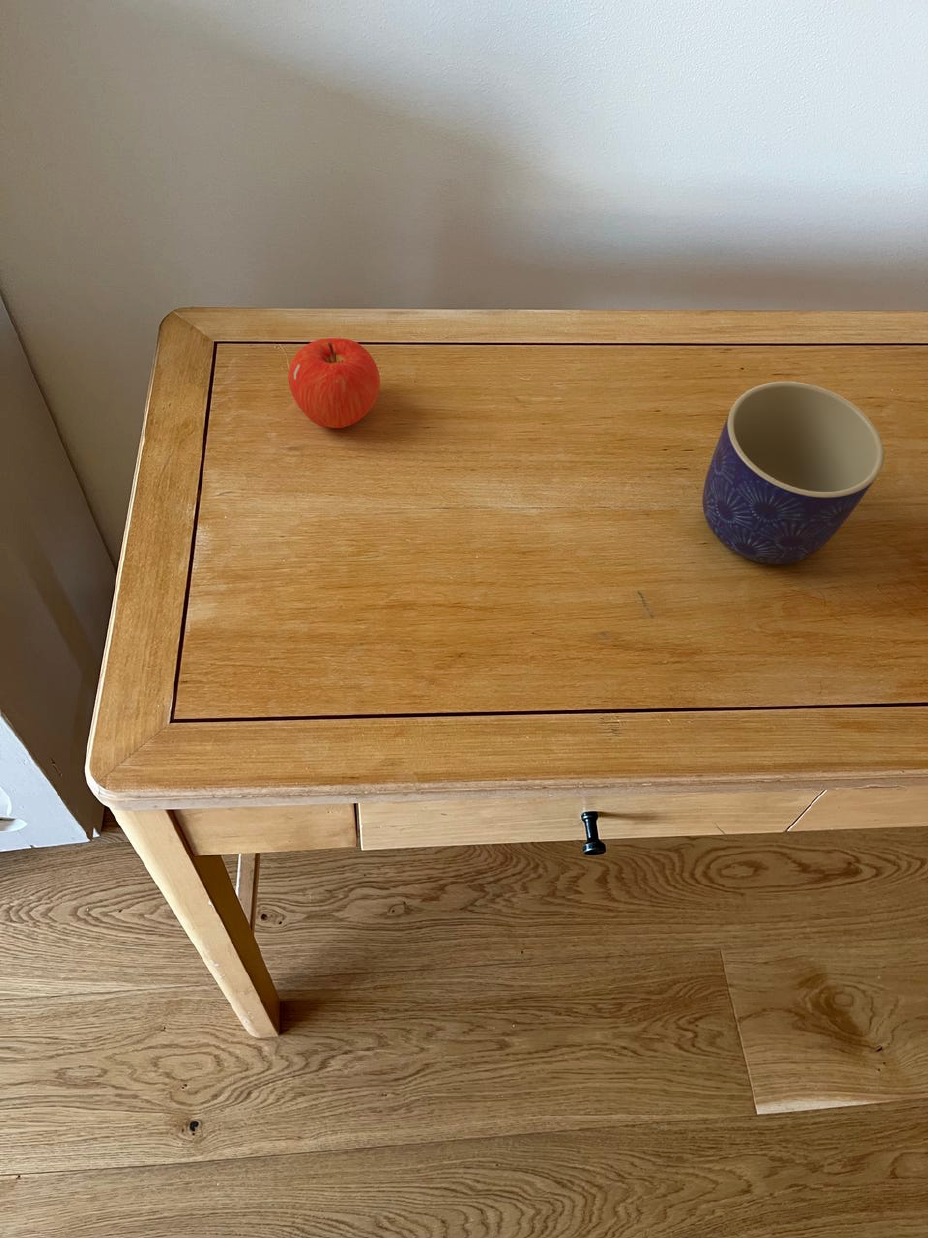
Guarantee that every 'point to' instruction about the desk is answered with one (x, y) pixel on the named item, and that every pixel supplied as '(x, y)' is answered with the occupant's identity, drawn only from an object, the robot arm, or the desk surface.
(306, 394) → the apple
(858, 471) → the planter
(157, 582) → the desk surface
